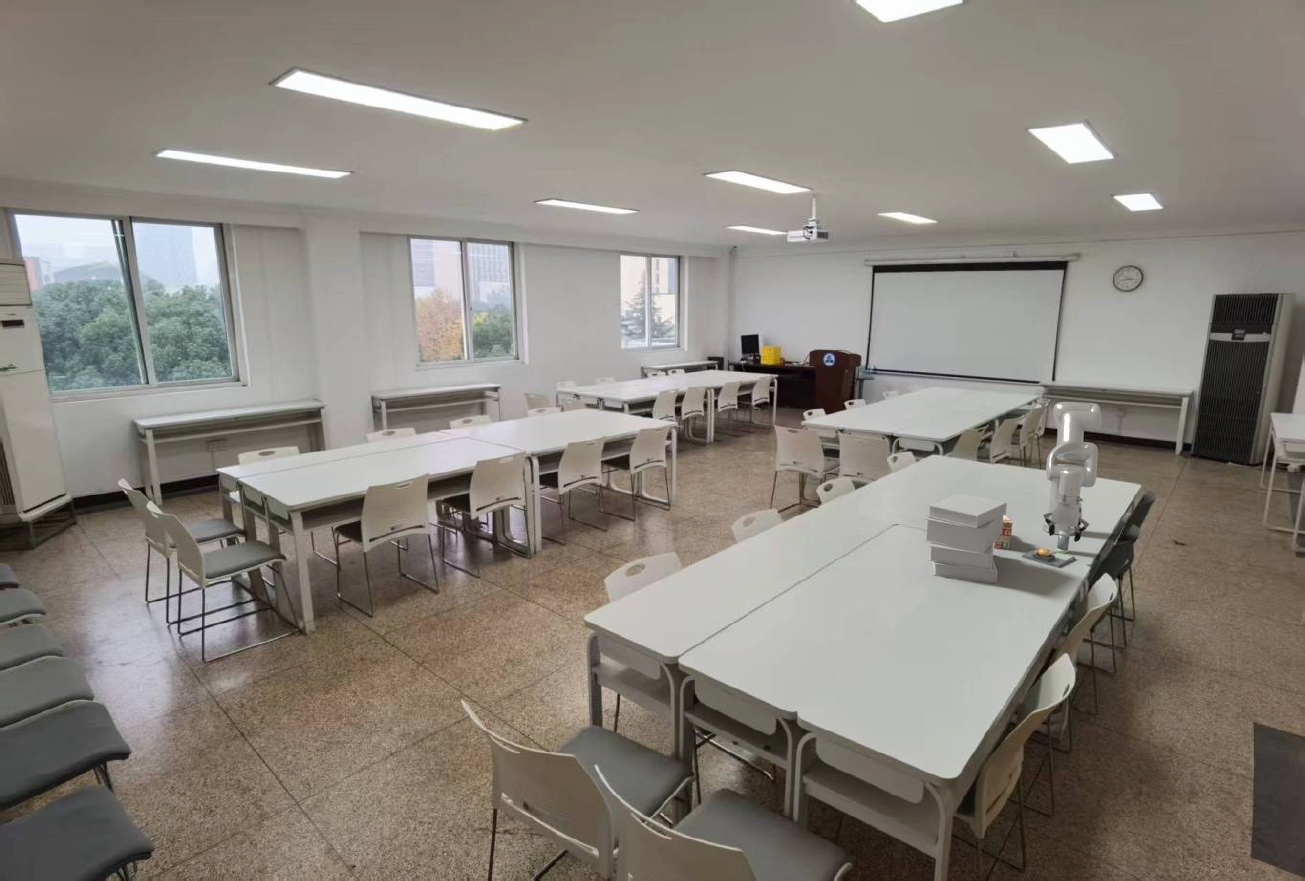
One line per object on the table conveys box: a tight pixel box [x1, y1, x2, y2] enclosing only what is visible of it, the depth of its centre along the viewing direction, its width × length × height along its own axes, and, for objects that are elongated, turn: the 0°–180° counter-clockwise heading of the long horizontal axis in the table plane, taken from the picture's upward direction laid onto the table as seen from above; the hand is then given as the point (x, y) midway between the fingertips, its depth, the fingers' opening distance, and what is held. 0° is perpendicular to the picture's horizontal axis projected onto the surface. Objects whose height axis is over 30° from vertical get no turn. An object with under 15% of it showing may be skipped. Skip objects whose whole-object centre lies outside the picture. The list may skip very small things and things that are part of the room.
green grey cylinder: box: [1056, 530, 1071, 554], centre depth 276 cm, size 4×4×9 cm
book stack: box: [923, 492, 1007, 584], centre depth 262 cm, size 30×35×26 cm
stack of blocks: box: [993, 514, 1013, 550], centre depth 291 cm, size 21×6×12 cm, turn 169°
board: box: [1021, 547, 1076, 568], centre depth 270 cm, size 15×14×2 cm
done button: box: [1039, 548, 1050, 557], centre depth 267 cm, size 4×4×2 cm
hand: (1063, 538), depth 275 cm, fingers open, 9 cm apart
